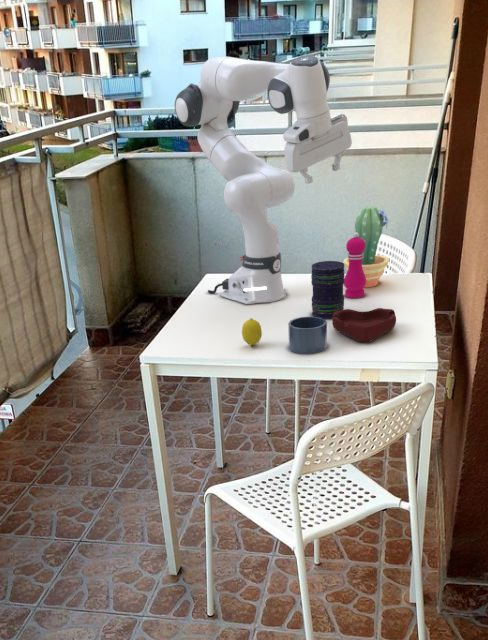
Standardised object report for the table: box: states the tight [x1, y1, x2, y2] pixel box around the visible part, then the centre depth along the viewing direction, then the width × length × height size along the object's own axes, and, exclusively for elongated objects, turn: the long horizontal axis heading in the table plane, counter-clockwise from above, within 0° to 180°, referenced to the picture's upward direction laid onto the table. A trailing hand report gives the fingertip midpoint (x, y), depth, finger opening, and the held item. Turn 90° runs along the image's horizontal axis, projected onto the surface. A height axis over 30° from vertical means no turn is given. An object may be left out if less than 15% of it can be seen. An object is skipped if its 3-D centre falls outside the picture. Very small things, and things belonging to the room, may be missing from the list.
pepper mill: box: [343, 232, 366, 299], centre depth 223 cm, size 7×7×20 cm
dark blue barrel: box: [310, 260, 346, 320], centre depth 210 cm, size 10×10×15 cm
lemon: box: [241, 318, 263, 347], centre depth 193 cm, size 6×6×8 cm
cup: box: [287, 315, 328, 355], centre depth 190 cm, size 10×10×7 cm
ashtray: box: [331, 307, 397, 344], centre depth 195 cm, size 18×16×5 cm
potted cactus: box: [342, 205, 390, 288], centre depth 232 cm, size 15×15×25 cm
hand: (322, 176), depth 196 cm, fingers open, 8 cm apart
